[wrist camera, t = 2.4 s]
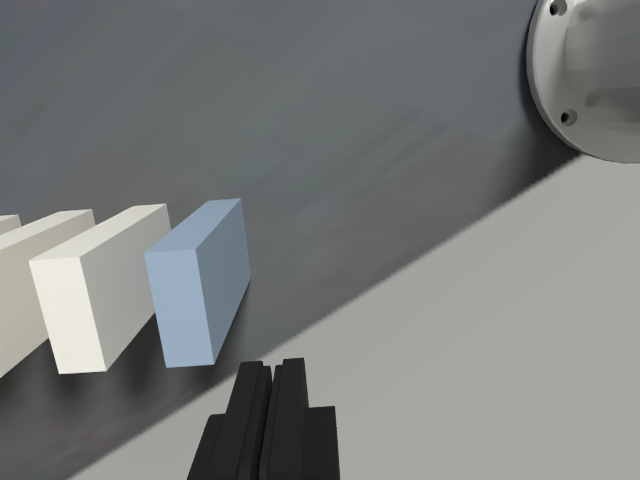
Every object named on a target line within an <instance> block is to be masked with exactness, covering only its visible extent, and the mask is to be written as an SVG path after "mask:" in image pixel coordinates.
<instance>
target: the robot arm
mask: <svg viewBox="0 0 640 480" xmlns="http://www.w3.org/2000/svg"><path fill="white" fill-rule="evenodd" d="M550 6H551V7H553V9H554V14H553V15H551V13H550V11H549V9H550ZM526 65H527V77H528V82H529V86H530V91H531V95H532V98H533V100H534V102H535V105H536V107H537V109H538V111H539V114H540V116H541V117H542V118H543V120H544V121H545V122H546V124H547V125H548V126H549V128H550V129H551V131H552V132H553V133H554V134H555V135H557V136H558V137H559V138H560V139H561V140H562V141H563V142H565V143H566V144H567V145H568V146H570V147H572V148H574V149H576V150H577V151H579V152H581V153H583V154H585V155H588V156H591V157H595V158H598V159H602V160H605V161H612V162H619V163H640V0H538V2H537V5H536V8H535V11H534V14H533V17H532V20H531V23H530V28H529V34H528V41H527V47H526ZM563 113H564V115H565V118H564V120H563V121H562V122H561V115H562V114H563ZM305 373H306V372H305V364H304V358H292V359H283V365H276V366H275V373H274V379H273V382H272V374H271V367H270V366H263V362H262V361H250V362H241V364H240V367H239V370H238V374H237V377H236V380H235V384H234V387H233V390H232V394H231V397H230V401H229V404H228V407H227V411H226V414H214V415H211V416H209V418H208V421H207V424H206V427H205V429H204V432H203V435H202V438H201V440H200V443H199V446H198V449H197V452H196V455H195V458H194V460H193V463H192V466H191V469H190V472H189V474H188V477H187V480H340V471H339V470H340V469H339V455H338V440H337V427H336V415H335V406H327V407H313V408H309V404H308V394H307V383H306V374H305Z"/></svg>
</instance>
